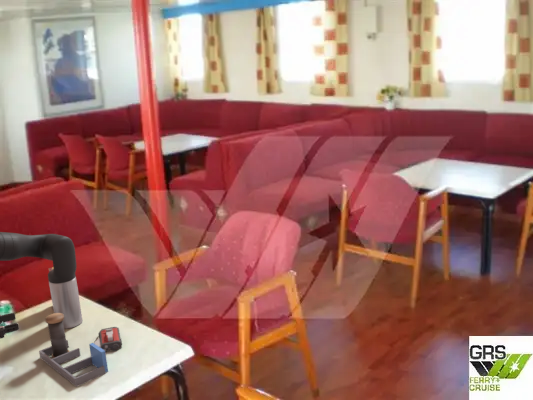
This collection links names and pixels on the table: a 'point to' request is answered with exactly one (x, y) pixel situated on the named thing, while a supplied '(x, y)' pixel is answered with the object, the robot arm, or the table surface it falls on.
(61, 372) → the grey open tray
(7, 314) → the robot arm
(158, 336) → the table surface
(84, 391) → the table surface
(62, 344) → the cord spool
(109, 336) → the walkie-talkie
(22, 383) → the table surface
